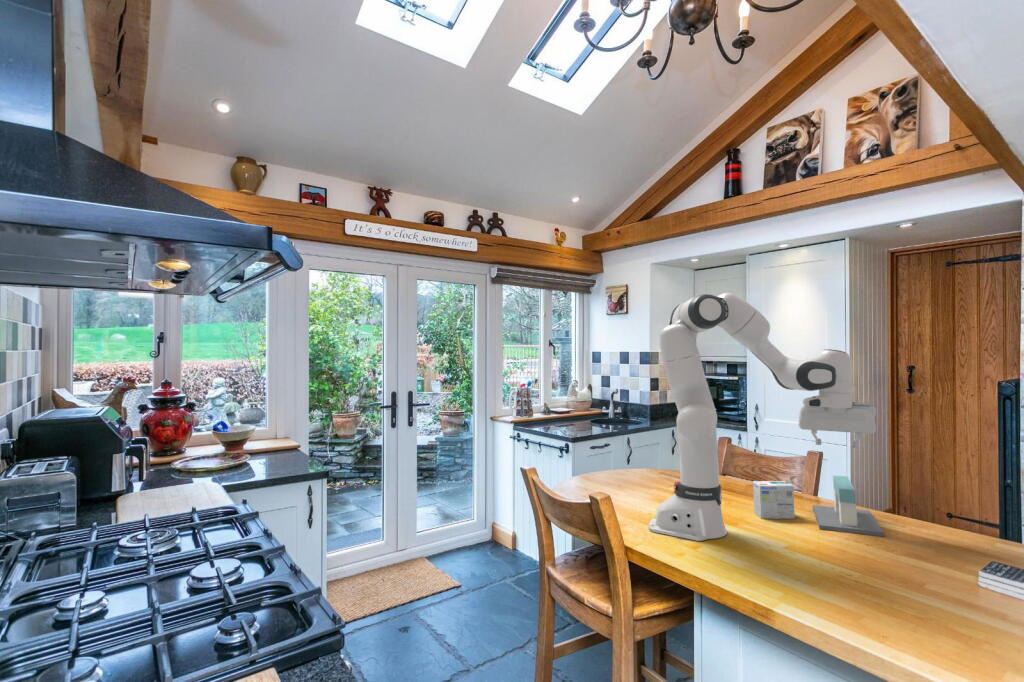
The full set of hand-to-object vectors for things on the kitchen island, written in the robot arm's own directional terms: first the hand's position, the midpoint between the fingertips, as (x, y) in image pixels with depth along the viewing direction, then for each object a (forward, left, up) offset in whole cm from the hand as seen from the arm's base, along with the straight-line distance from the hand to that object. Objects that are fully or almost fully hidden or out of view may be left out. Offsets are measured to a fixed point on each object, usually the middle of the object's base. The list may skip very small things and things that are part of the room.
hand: (836, 445), depth 156 cm
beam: (+2, +3, -16) cm, 16 cm away
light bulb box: (-18, +1, -24) cm, 30 cm away
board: (+2, +3, -24) cm, 24 cm away
